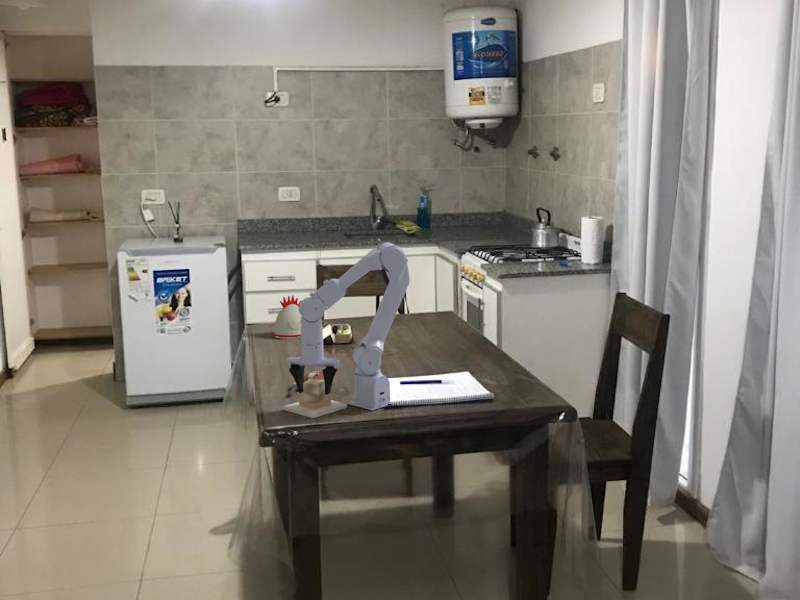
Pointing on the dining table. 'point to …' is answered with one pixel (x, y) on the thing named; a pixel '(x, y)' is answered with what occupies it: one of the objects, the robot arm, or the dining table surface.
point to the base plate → (315, 412)
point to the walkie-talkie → (308, 376)
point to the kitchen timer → (288, 319)
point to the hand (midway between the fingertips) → (314, 392)
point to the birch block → (314, 390)
